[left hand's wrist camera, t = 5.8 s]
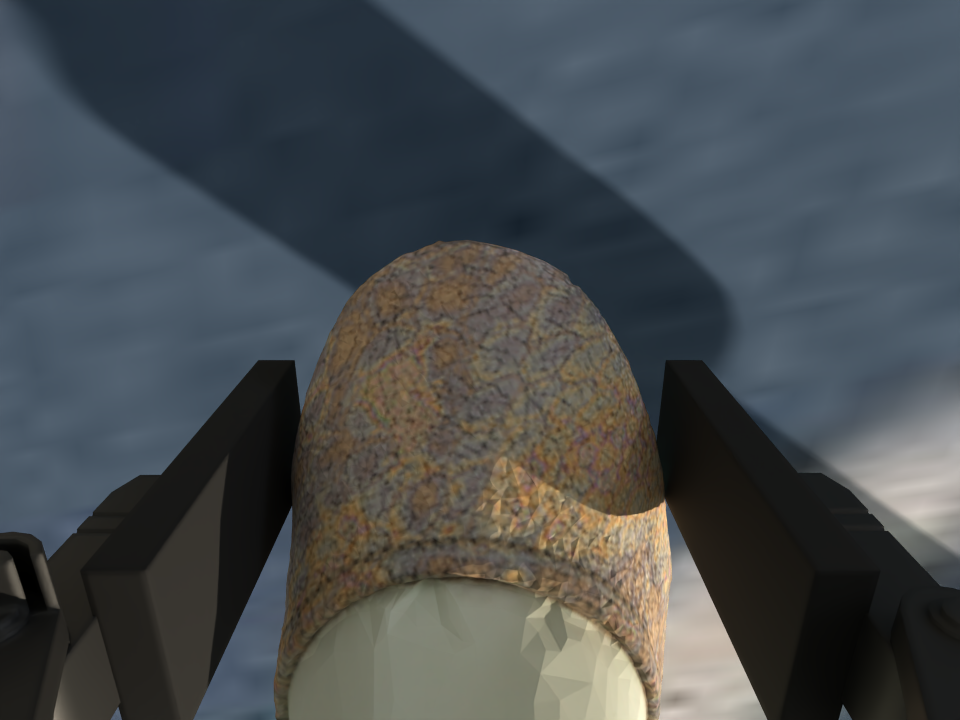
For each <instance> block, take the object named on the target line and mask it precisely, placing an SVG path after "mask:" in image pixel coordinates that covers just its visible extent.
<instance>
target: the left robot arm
mask: <svg viewBox="0 0 960 720" xmlns="http://www.w3.org/2000/svg"><path fill="white" fill-rule="evenodd" d="M300 418H301V412H300V403H299V395H298V386H297V377H296V368H295V360H258V361H257V363H256V364H255V365H254V366H253V367H252V369H251V370H250V371H249V372H248V373H247V374H246V376H245V377H244V378H243V379H242V380H241V381H240V383H239V384H238V385H237V386H236V387H235V389H234V390H233V391H232V392H231V393H230V394H229V396H228V397H227V398H226V399H225V400H224V402H223V403H222V404H221V405H220V406H219V407H218V409H217V410H216V411H215V412H214V413H213V414H212V416H211V417H210V418H209V419H208V420H207V422H206V423H205V424H204V425H203V426H202V427H201V429H200V430H199V431H198V432H197V433H196V434H195V436H194V437H193V438H192V439H191V440H190V442H189V443H188V444H187V445H186V446H185V447H184V449H183V450H182V451H181V452H180V453H179V454H178V456H177V457H176V458H175V459H174V460H173V462H172V463H171V464H170V465H169V466H168V467H167V469H166V470H165V471H164V472H163V473H162V474H161V475H139V476H138V477H136V478H134V479H133V480H131V481H129V482H128V483H126V484H124V485H123V486H121V487H120V488H118V489H116V490H115V491H113V492H111V494H110V495H109V496H108V497H107V498H106V499H105V500H104V501H103V502H102V503H101V504H100V505H99V506H98V507H97V508H96V510H95V511H94V512H93V516H89V517H88V518H87V519H86V520H85V521H84V522H83V523H82V524H81V525H80V527H79V528H78V529H77V533H73V534H72V535H71V536H70V537H69V538H68V539H67V540H66V541H65V543H64V544H63V545H62V546H61V547H60V548H59V549H58V550H57V551H56V552H55V553H54V554H53V555H52V556H51V557H50V559H49V560H48V561H47V558H46V555H45V551H44V548H43V545H42V542H41V541H40V540H38V539H37V538H36V537H34V536H33V535H31V534H25V533H18V532H7V533H0V720H110V719H111V718H112V716H113V714H114V713H115V711H116V709H117V708H118V707H119V710H120V714H121V717H122V720H193V719H194V716H195V714H196V712H197V710H198V708H199V706H200V703H201V701H202V699H203V697H204V695H205V693H206V690H207V688H208V686H209V684H210V682H211V680H212V677H213V675H214V673H215V671H216V669H217V667H218V665H219V662H220V660H221V658H222V656H223V654H224V652H225V649H226V647H227V645H228V643H229V641H230V639H231V636H232V634H233V632H234V630H235V628H236V626H237V623H238V621H239V619H240V617H241V615H242V613H243V610H244V608H245V606H246V604H247V602H248V600H249V597H250V595H251V593H252V591H253V589H254V587H255V585H256V582H257V580H258V578H259V576H260V574H261V572H262V569H263V567H264V565H265V563H266V561H267V559H268V556H269V554H270V552H271V550H272V548H273V546H274V543H275V541H276V539H277V537H278V535H279V533H280V530H281V528H282V526H283V524H284V522H285V520H286V518H287V515H288V513H289V511H290V509H291V507H292V494H291V470H292V461H293V454H294V448H295V441H296V436H297V432H298V427H299V423H300ZM657 448H658V453H659V458H660V462H661V466H662V470H663V479H664V487H665V499H666V501H667V504H668V506H669V508H670V510H671V512H672V514H673V517H674V519H675V521H676V523H677V525H678V527H679V529H680V532H681V534H682V536H683V538H684V540H685V542H686V545H687V547H688V549H689V551H690V553H691V555H692V558H693V560H694V562H695V564H696V566H697V568H698V571H699V573H700V575H701V577H702V579H703V581H704V583H705V586H706V588H707V590H708V592H709V594H710V596H711V599H712V601H713V603H714V605H715V607H716V609H717V612H718V614H719V616H720V618H721V620H722V622H723V625H724V627H725V629H726V631H727V633H728V635H729V638H730V640H731V642H732V644H733V646H734V648H735V650H736V653H737V655H738V657H739V659H740V661H741V663H742V666H743V668H744V670H745V672H746V674H747V676H748V679H749V681H750V683H751V685H752V687H753V689H754V692H755V694H756V696H757V698H758V700H759V702H760V705H761V707H762V709H763V711H764V713H765V715H766V717H767V720H838V719H839V716H840V712H841V709H842V705H844V707H845V708H846V710H847V712H848V713H849V715H850V717H851V718H852V720H960V590H957V589H954V588H948V587H940V585H939V584H938V583H937V582H936V581H935V580H934V579H933V578H932V577H931V576H930V575H929V574H928V573H927V572H926V571H925V570H924V569H923V567H922V566H921V565H920V564H919V563H918V562H917V561H916V560H915V559H914V558H913V557H912V556H911V555H910V554H909V553H908V552H907V551H906V549H905V548H904V547H903V546H902V545H901V544H900V543H899V542H898V541H897V540H896V539H895V538H894V537H893V536H892V535H891V534H890V533H889V531H884V526H883V525H882V524H881V523H880V522H879V521H878V520H877V519H876V518H875V517H874V516H873V515H872V514H869V513H868V509H867V508H866V507H865V506H864V505H863V504H862V503H861V502H860V501H859V500H858V499H857V498H856V497H855V495H854V494H853V493H852V492H851V491H850V490H848V489H847V488H845V487H843V486H842V485H840V484H838V483H837V482H835V481H833V480H832V479H830V478H828V477H827V476H825V475H823V474H822V473H797V472H796V470H795V469H794V468H793V467H792V466H791V464H790V463H789V462H788V461H787V460H786V459H785V457H784V456H783V455H782V454H781V453H780V452H779V450H778V449H777V448H776V447H775V446H774V444H773V443H772V442H771V441H770V440H769V439H768V437H767V436H766V435H765V434H764V433H763V431H762V430H761V429H760V428H759V427H758V426H757V424H756V423H755V422H754V421H753V420H752V419H751V417H750V416H749V415H748V414H747V413H746V411H745V410H744V409H743V408H742V407H741V406H740V404H739V403H738V402H737V401H736V400H735V399H734V397H733V396H732V395H731V394H730V393H729V391H728V390H727V389H726V388H725V387H724V386H723V384H722V383H721V382H720V381H719V380H718V379H717V377H716V376H715V375H714V374H713V373H712V371H711V370H710V369H709V368H708V367H707V366H706V364H705V363H704V362H703V361H702V360H666V364H665V373H664V382H663V390H662V399H661V408H660V416H659V425H658V434H657Z"/></svg>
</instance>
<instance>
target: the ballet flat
mask: <svg viewBox="0 0 960 720" xmlns="http://www.w3.org/2000/svg"><path fill="white" fill-rule="evenodd" d="M291 494H292V543H291V550H290V563H289V569H288V575H287V584H286V602H285V605H286V611H285V617H284V624H283V627H282V634H281V640H280V645H279V651H278V659H277V669H276V673H275V678H274V702H275V707H276V716H275V717H276V719H277V720H658V719H659V715H660V694H661V682H662V677H663V656H664V642H665V632H666V616H667V608H668V600H669V590H670V582H671V580H672V568H671V566H672V565H671V553H670V545H669V535H668V529H667V519H666V504H665V500H664V498H665V487H664V479H663V470H662V466H661V462H660V458H659V453H658V448H657V442H656V437H655V434H654V431H653V429H652V426H651V425H650V419H649V415H648V413H647V411H646V408H645V404H644V403H643V401H642V398H641V394H640V391H639V388H638V385H637V383H636V380H635V378H634V376H633V374H632V372H631V368H630V365H629V361H628V360H627V358H626V356H625V355H624V353H623V351H622V349H621V347H620V346H619V344H618V342H617V340H616V338H615V336H614V334H613V333H612V331H611V329H610V328H609V326H608V324H607V323H606V321H605V319H604V318H603V317H602V316H601V314H600V312H599V309H598V308H597V307H596V306H595V305H594V304H593V302H592V301H591V300H590V299H589V298H588V297H587V295H586V294H585V293H584V292H583V291H582V290H581V288H580V287H578V286H575V285H573V284H572V283H571V281H570V279H569V277H568V275H567V274H565V273H564V272H562V271H560V270H559V269H557V268H555V267H554V266H552V265H550V264H548V263H547V262H545V261H543V260H540V259H538V258H535V257H533V256H530V255H527V254H525V253H522V252H520V251H517V250H514V249H510V248H506V247H502V246H498V245H494V244H489V243H483V242H477V241H471V240H460V241H450V242H443V241H438V242H436V243H434V244H432V245H428V246H426V247H424V248H422V249H419V250H417V251H415V252H411V253H406V254H404V255H402V256H400V257H398V258H397V259H395V260H394V261H392V262H391V263H389V264H388V265H387V266H385V267H384V268H382V269H381V270H379V271H378V272H376V273H375V274H374V275H372V276H371V277H370V278H369V279H368V280H367V281H366V282H365V283H364V284H362V285H361V286H360V287H359V288H358V289H357V290H356V292H355V293H354V294H353V295H352V296H351V297H350V298H349V300H348V301H347V303H346V304H345V306H344V308H343V310H342V312H341V314H340V316H339V317H338V319H337V322H336V324H335V325H334V327H333V329H332V330H331V332H330V333H329V336H328V339H327V342H326V344H325V346H324V349H323V351H322V353H321V355H320V358H319V360H318V363H317V366H316V368H315V371H314V374H313V377H312V380H311V382H310V385H309V388H308V390H307V393H306V399H305V404H304V407H303V410H302V414H301V418H300V423H299V427H298V432H297V436H296V441H295V448H294V454H293V461H292V470H291Z"/></svg>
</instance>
